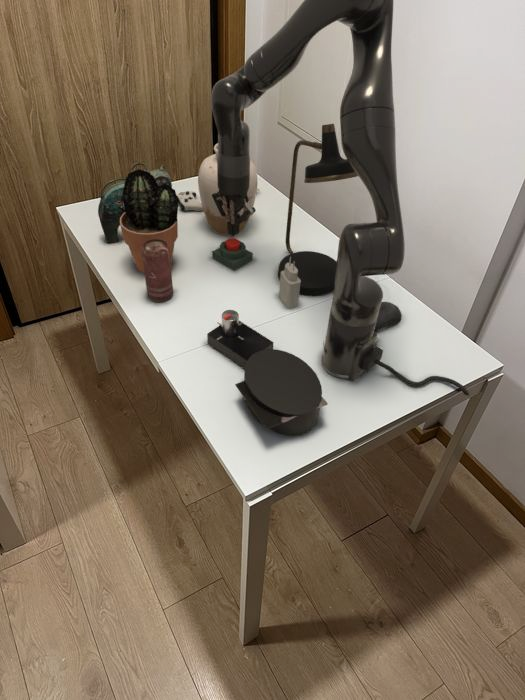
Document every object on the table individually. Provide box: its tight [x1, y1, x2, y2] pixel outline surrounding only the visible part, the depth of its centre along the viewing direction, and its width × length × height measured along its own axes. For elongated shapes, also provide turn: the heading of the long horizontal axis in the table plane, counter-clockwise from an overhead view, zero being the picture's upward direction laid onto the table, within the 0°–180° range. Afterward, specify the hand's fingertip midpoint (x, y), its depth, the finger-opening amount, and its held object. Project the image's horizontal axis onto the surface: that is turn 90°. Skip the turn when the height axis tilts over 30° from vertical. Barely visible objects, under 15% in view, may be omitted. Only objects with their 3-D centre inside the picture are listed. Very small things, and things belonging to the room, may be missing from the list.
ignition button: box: [225, 237, 241, 251], centre depth 136 cm, size 4×4×2 cm
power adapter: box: [278, 257, 301, 309], centre depth 124 cm, size 3×5×12 cm, turn 24°
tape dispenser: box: [234, 348, 329, 437], centre depth 103 cm, size 14×18×8 cm
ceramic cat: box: [97, 162, 173, 244], centre depth 139 cm, size 20×6×20 cm, turn 115°
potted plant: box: [119, 168, 179, 273], centre depth 128 cm, size 14×14×25 cm
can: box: [142, 239, 174, 303], centre depth 123 cm, size 6×6×14 cm
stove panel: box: [206, 320, 274, 370], centre depth 115 cm, size 13×8×3 cm, turn 48°
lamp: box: [277, 123, 359, 297], centre depth 123 cm, size 16×22×38 cm
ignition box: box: [211, 239, 254, 272], centre depth 138 cm, size 8×7×4 cm
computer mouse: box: [374, 301, 402, 345], centre depth 122 cm, size 10×15×4 cm
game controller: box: [176, 190, 204, 212], centre depth 158 cm, size 10×5×6 cm
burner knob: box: [221, 309, 240, 337], centre depth 113 cm, size 4×4×5 cm
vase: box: [197, 142, 258, 236], centre depth 143 cm, size 16×16×23 cm
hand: (233, 234), depth 134 cm, fingers closed
